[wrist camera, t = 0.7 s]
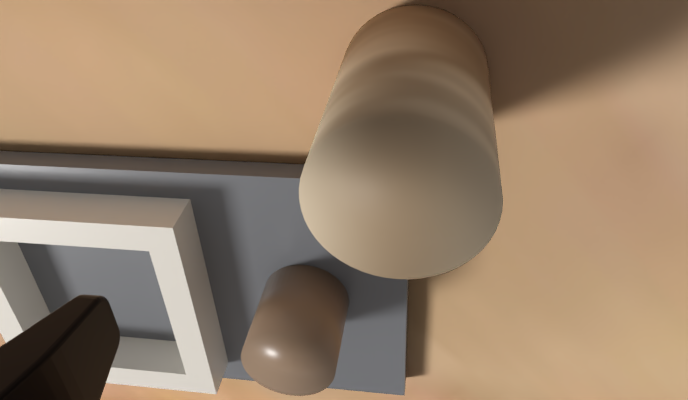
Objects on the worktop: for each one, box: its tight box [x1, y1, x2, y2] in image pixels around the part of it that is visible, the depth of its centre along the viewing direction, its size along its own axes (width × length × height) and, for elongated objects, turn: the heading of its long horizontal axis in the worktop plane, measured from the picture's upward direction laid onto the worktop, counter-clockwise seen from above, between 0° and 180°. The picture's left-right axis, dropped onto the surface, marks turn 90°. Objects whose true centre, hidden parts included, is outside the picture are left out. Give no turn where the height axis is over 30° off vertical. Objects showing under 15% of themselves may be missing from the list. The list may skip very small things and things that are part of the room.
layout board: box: [0, 151, 408, 396], centre depth 21 cm, size 16×10×4 cm, turn 93°
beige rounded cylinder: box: [299, 5, 503, 279], centre depth 14 cm, size 4×4×6 cm
